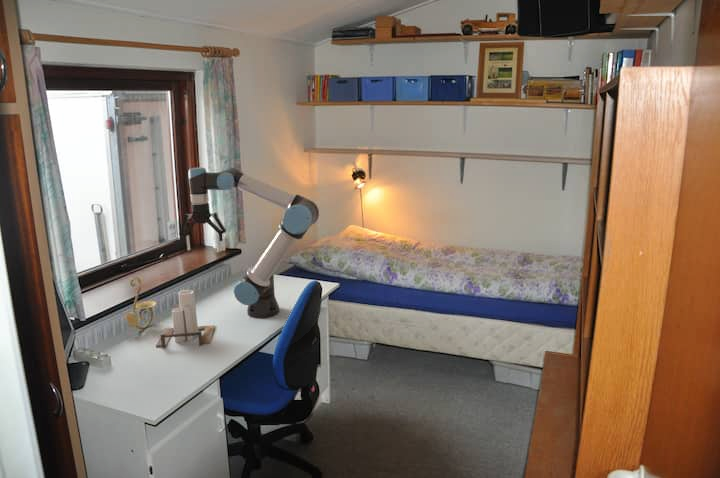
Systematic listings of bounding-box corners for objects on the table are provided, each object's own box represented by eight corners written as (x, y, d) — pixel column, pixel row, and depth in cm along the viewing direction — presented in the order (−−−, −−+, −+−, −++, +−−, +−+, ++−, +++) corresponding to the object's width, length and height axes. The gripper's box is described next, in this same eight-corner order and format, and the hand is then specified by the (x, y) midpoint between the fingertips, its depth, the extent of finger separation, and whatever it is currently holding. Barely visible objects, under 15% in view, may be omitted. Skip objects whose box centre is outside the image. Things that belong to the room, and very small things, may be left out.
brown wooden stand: (215, 326, 256) (214, 314, 254) (209, 345, 237) (207, 332, 236) (165, 330, 254) (163, 317, 252) (155, 348, 235) (153, 335, 233)
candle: (188, 331, 251) (183, 289, 246) (202, 333, 249) (198, 290, 244) (172, 341, 241) (167, 298, 236) (187, 343, 239) (182, 299, 234)
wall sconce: (142, 335, 248) (135, 281, 242) (125, 333, 251) (117, 280, 245) (163, 323, 261) (156, 272, 254) (146, 321, 264) (139, 270, 257)
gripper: (229, 200, 255) (233, 245, 260) (172, 202, 252) (177, 248, 257) (227, 203, 247) (231, 249, 253) (169, 205, 244) (174, 252, 250)
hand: (204, 249), depth 255 cm, fingers open, 13 cm apart
